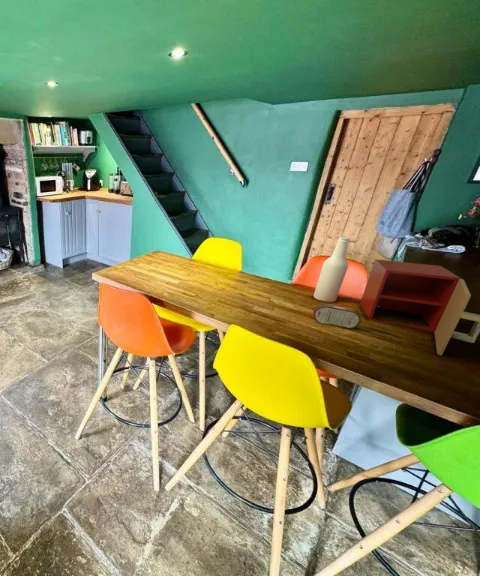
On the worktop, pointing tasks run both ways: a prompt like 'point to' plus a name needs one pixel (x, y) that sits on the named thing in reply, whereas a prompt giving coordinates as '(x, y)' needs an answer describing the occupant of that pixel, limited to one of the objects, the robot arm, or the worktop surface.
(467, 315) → the door
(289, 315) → the worktop surface
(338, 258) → the alcohol
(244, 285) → the worktop surface
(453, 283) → the red cabinet
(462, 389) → the worktop surface
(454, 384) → the worktop surface
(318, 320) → the tin
